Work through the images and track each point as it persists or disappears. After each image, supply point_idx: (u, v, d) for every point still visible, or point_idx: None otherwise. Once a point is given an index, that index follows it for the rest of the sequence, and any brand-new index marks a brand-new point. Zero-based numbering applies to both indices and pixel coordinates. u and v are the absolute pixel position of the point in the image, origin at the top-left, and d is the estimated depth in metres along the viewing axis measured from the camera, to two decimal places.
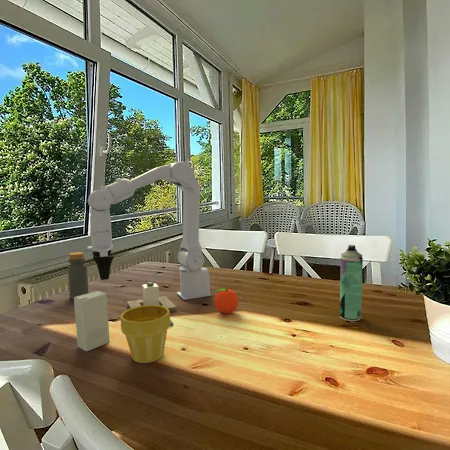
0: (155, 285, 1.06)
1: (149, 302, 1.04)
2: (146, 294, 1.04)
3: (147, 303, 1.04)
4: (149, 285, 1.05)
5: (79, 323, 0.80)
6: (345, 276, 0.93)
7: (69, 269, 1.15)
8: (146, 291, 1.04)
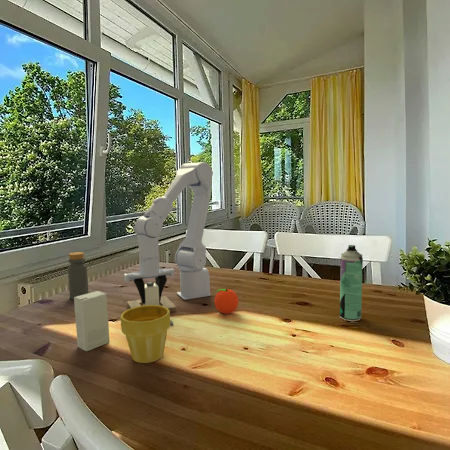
0: (155, 285, 1.06)
1: (149, 302, 1.04)
2: (146, 294, 1.04)
3: (147, 303, 1.04)
4: (149, 285, 1.05)
5: (79, 323, 0.80)
6: (345, 276, 0.93)
7: (69, 269, 1.15)
8: (146, 291, 1.04)
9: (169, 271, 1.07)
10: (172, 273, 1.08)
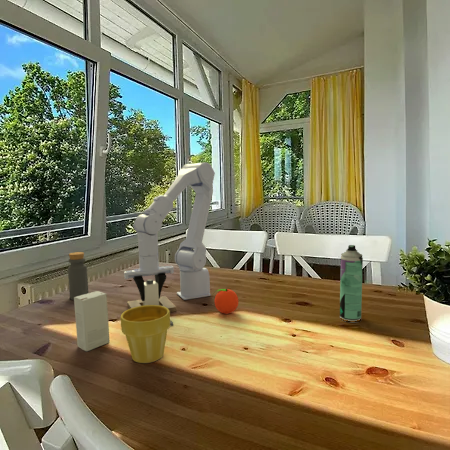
0: (155, 282, 1.06)
1: (149, 299, 1.05)
2: (146, 291, 1.04)
3: (147, 300, 1.05)
4: (149, 282, 1.05)
5: (79, 323, 0.80)
6: (345, 276, 0.93)
7: (69, 269, 1.15)
8: (146, 288, 1.04)
9: (169, 268, 1.07)
10: (172, 270, 1.08)
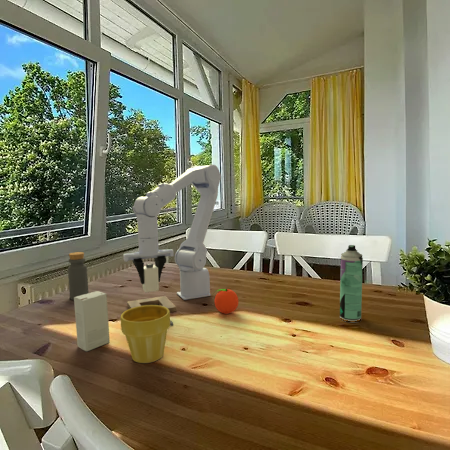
0: (154, 266, 1.06)
1: (148, 283, 1.04)
2: (145, 275, 1.03)
3: (146, 284, 1.04)
4: (148, 266, 1.05)
5: (79, 323, 0.80)
6: (345, 276, 0.93)
7: (69, 269, 1.15)
8: (145, 272, 1.03)
9: (168, 251, 1.06)
10: (171, 254, 1.07)
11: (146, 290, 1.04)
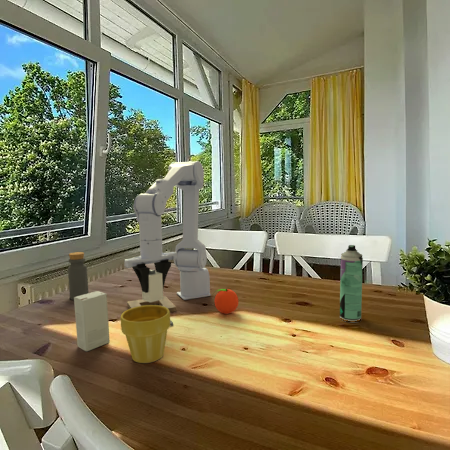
0: (157, 272, 0.95)
1: (153, 292, 0.92)
2: (150, 283, 0.92)
3: (151, 293, 0.92)
4: (151, 273, 0.93)
5: (79, 323, 0.80)
6: (345, 276, 0.93)
7: (69, 269, 1.15)
8: (150, 279, 0.92)
9: (172, 254, 0.96)
10: (175, 257, 0.97)
11: (151, 300, 0.92)
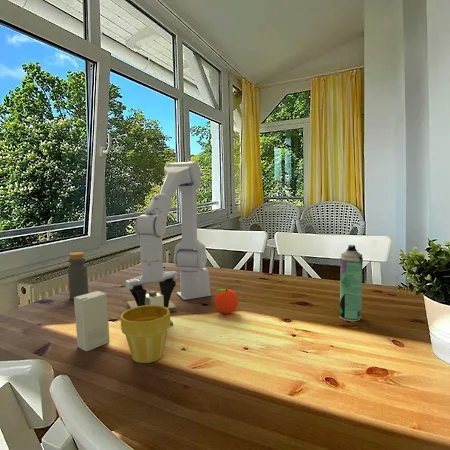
0: (158, 294, 0.95)
1: None
2: None
3: None
4: (153, 295, 0.94)
5: (79, 323, 0.80)
6: (345, 276, 0.93)
7: (69, 269, 1.15)
8: (151, 302, 0.92)
9: (173, 274, 0.97)
10: (175, 276, 0.98)
11: None
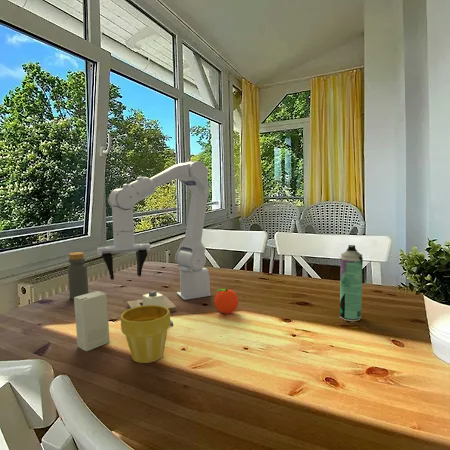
0: (158, 294, 0.95)
1: None
2: None
3: None
4: (153, 295, 0.94)
5: (79, 323, 0.80)
6: (345, 276, 0.93)
7: (69, 269, 1.15)
8: (151, 302, 0.92)
9: (145, 246, 1.03)
10: (148, 248, 1.04)
11: None
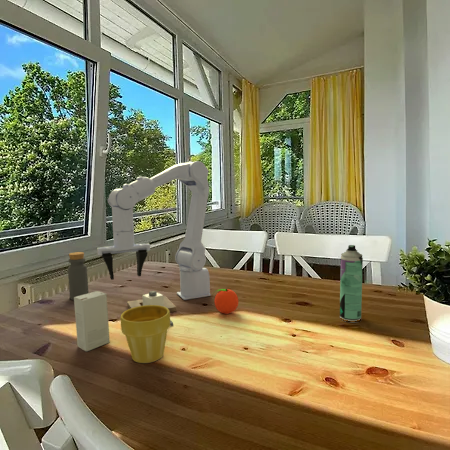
0: (158, 294, 0.95)
1: None
2: None
3: None
4: (153, 295, 0.94)
5: (79, 323, 0.80)
6: (345, 276, 0.93)
7: (69, 269, 1.15)
8: (151, 302, 0.92)
9: (145, 246, 1.03)
10: (148, 248, 1.04)
11: None
